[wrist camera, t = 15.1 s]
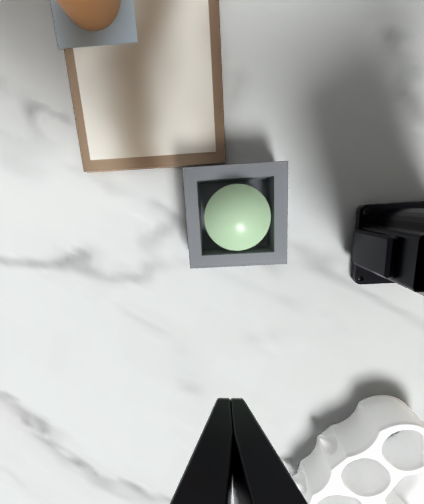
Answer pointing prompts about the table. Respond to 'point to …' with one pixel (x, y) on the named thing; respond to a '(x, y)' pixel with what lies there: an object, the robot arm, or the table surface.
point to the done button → (237, 217)
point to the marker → (91, 12)
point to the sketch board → (147, 85)
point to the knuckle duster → (367, 457)
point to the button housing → (216, 177)
